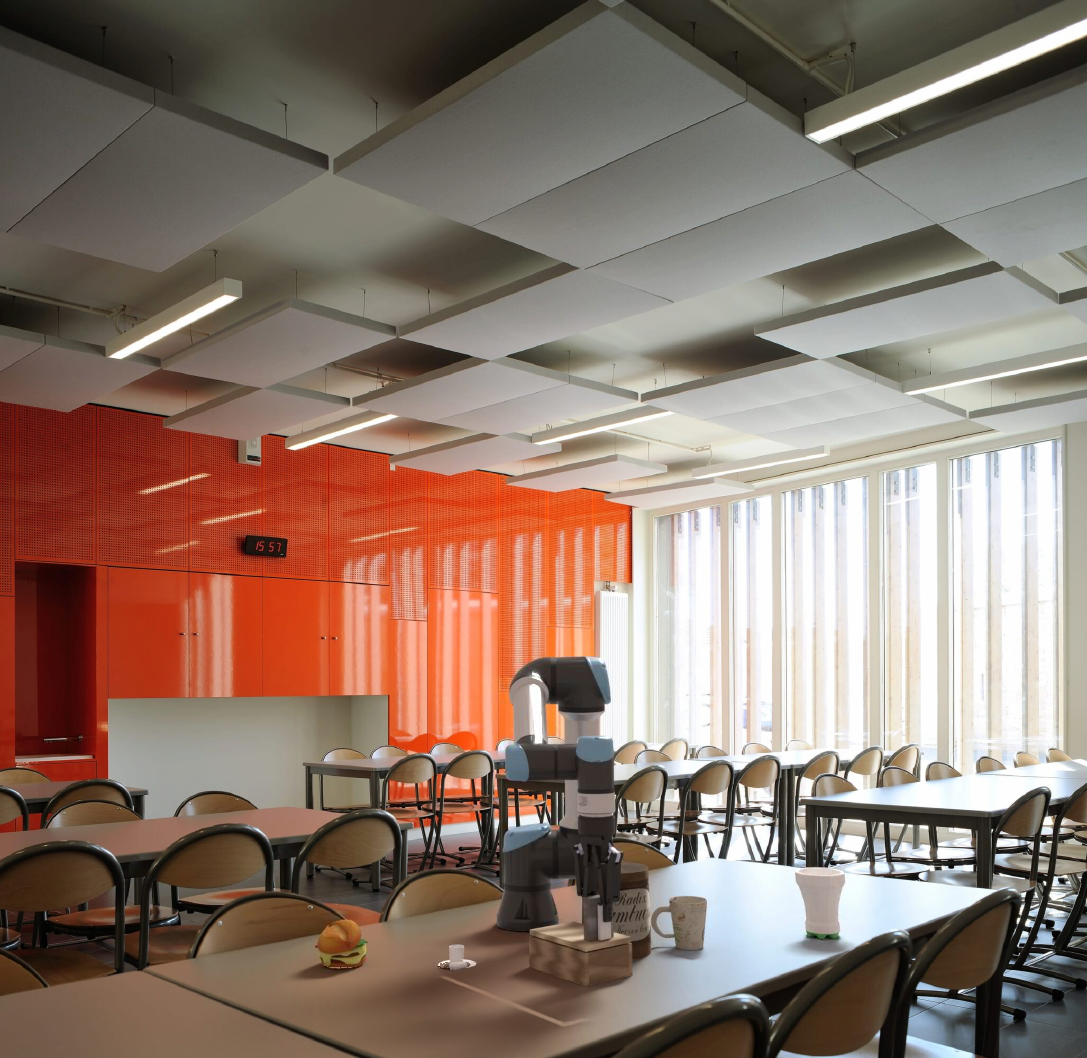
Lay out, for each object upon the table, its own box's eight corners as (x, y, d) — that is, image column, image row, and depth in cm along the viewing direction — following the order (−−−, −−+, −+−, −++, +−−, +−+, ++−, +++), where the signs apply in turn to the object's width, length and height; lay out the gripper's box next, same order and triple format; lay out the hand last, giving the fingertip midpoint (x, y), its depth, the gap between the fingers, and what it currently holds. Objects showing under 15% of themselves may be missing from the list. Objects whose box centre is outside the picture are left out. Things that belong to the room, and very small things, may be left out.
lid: (529, 934, 208) (529, 889, 210) (573, 926, 215) (573, 882, 217) (586, 951, 194) (585, 902, 196) (631, 942, 201) (630, 894, 203)
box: (529, 969, 207) (529, 936, 208) (575, 960, 214) (574, 927, 216) (585, 989, 193) (585, 953, 194) (632, 978, 200) (631, 943, 201)
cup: (794, 939, 230) (791, 874, 232) (801, 928, 240) (798, 866, 242) (845, 943, 226) (842, 876, 228) (850, 932, 236) (847, 868, 238)
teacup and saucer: (464, 974, 206) (464, 953, 207) (429, 971, 209) (429, 950, 209) (482, 963, 214) (482, 943, 215) (448, 960, 217) (448, 940, 218)
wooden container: (605, 967, 209) (602, 855, 213) (570, 951, 222) (568, 846, 225) (665, 957, 216) (661, 850, 219) (627, 942, 229) (625, 841, 232)
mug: (707, 952, 220) (706, 904, 221) (649, 950, 222) (648, 902, 224) (709, 943, 228) (707, 896, 229) (653, 941, 230) (652, 894, 232)
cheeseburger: (378, 959, 217) (373, 913, 216) (353, 985, 207) (348, 937, 206) (336, 954, 220) (332, 910, 219) (310, 980, 210) (305, 933, 209)
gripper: (557, 812, 208) (558, 932, 204) (608, 819, 196) (611, 948, 192) (585, 809, 213) (587, 927, 209) (637, 816, 200) (640, 941, 196)
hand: (598, 937), depth 200 cm, fingers closed on lid, 3 cm apart
